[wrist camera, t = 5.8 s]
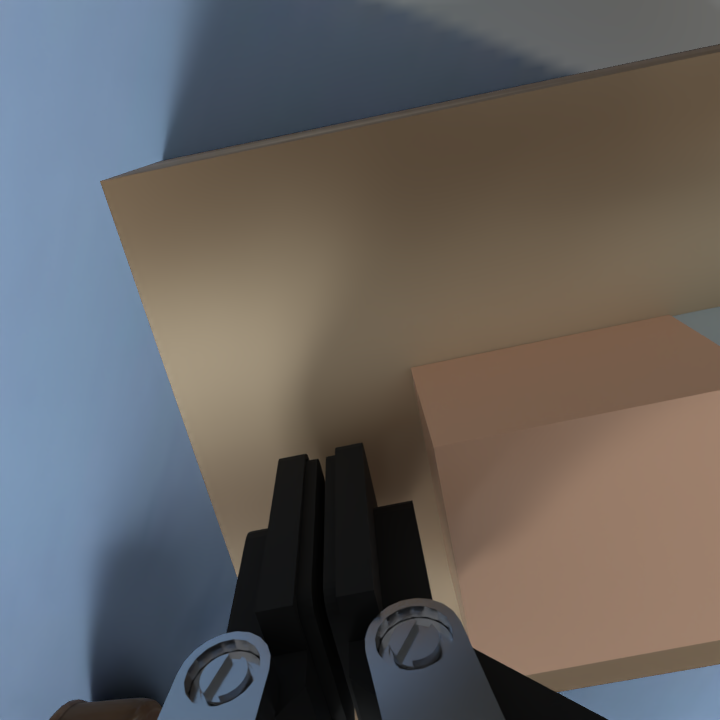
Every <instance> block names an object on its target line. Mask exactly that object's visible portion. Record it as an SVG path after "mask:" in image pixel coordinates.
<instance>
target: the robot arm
mask: <svg viewBox="0 0 720 720" xmlns="http://www.w3.org/2000/svg"><path fill="white" fill-rule="evenodd" d="M355 711H356V714H357V718H358V720H608V719H606V718H604V717H602V716H600V715H598V714H596V713H594V712H593V711H591V710H589V709H587V708H585V707H583V706H581V705H579V704H578V703H576V702H574V701H572V700H570V699H568V698H566V697H564V696H562V695H561V694H559V693H557V692H555V691H553V690H551V689H549V688H547V687H546V686H544V685H542V684H540V683H538V682H536V681H534V680H532V679H531V678H529V677H527V676H525V675H523V674H521V673H519V672H517V671H515V670H514V669H512V668H510V667H508V666H506V665H504V664H502V663H500V662H499V661H497V660H495V659H493V658H491V657H489V656H487V655H485V654H484V653H482V652H480V651H478V650H476V649H474V648H473V647H472V645H471V643H470V640H469V638H468V636H467V634H466V632H465V629H464V627H463V625H462V623H461V621H460V619H459V618H458V617H457V615H456V614H455V612H454V611H453V610H452V609H450V608H449V607H447V606H446V605H445V604H443V603H440V602H437V601H434V600H433V599H432V594H431V589H430V584H429V579H428V574H427V569H426V564H425V559H424V554H423V549H422V544H421V539H420V534H419V529H418V525H417V520H416V515H415V510H414V505H413V500H411V501H406V502H401V503H396V504H391V505H386V506H380V507H378V505H377V501H376V497H375V492H374V488H373V484H372V479H371V475H370V471H369V466H368V462H367V458H366V454H365V449H364V446H363V443H357V444H351V445H346V446H341V447H336V448H335V455H333V456H328V457H326V472H325V479H324V475H323V471H322V467H321V464H320V461H319V459H313V460H309V457H308V455H307V454H301V455H296V456H291V457H286V458H281V459H279V461H278V466H277V472H276V479H275V485H274V492H273V498H272V505H271V511H270V518H269V524H268V528H266V529H261V530H256V531H251V532H249V533H248V534H247V536H246V539H245V544H244V549H243V554H242V559H241V564H240V569H239V574H238V579H237V584H236V589H235V594H234V599H233V604H232V609H231V614H230V619H229V624H228V629H227V633H225V634H222V635H219V636H217V637H215V638H212V639H210V640H208V641H207V642H205V643H204V644H202V645H201V646H199V647H198V648H197V649H195V650H194V651H193V652H192V654H191V655H190V656H189V657H188V658H187V659H186V660H185V661H184V663H183V664H182V666H181V668H180V669H179V671H178V673H177V675H176V677H175V680H174V682H173V684H172V686H171V689H170V691H169V693H168V696H167V698H166V700H165V703H164V705H163V707H162V710H161V712H160V714H159V717H158V719H157V720H355Z"/></svg>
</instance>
